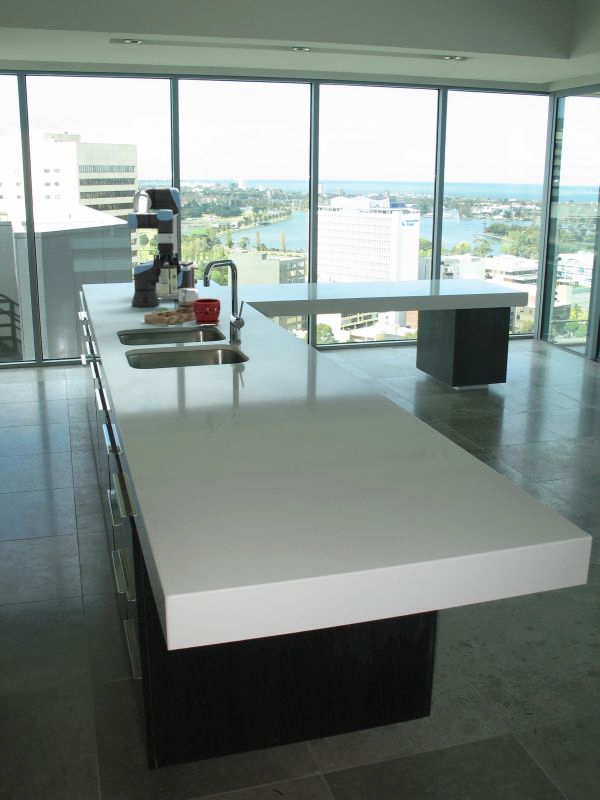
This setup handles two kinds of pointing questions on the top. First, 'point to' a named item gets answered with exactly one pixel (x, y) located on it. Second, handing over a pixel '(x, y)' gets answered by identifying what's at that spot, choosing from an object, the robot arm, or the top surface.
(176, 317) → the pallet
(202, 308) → the plant pot
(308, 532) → the top surface
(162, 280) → the coffee can
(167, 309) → the button
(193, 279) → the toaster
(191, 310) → the canister
